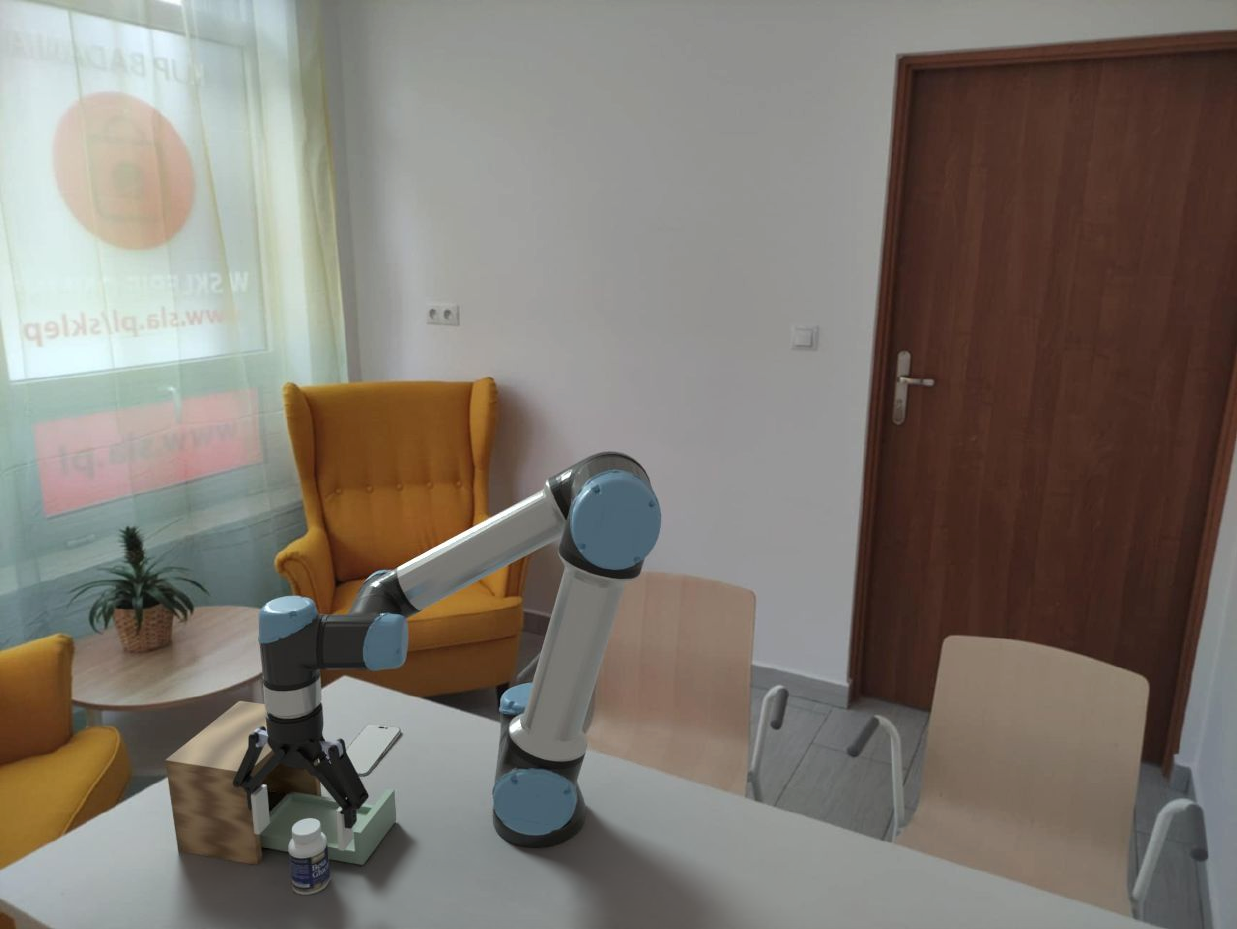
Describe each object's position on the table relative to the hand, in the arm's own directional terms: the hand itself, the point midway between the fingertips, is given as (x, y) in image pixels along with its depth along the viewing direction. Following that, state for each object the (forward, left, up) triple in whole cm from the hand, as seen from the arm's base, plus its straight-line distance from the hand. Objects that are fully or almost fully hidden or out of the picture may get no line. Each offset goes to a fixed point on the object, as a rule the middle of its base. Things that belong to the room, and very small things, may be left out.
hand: (303, 836), depth 132 cm
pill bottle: (0, 0, -8) cm, 8 cm away
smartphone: (+9, -34, -9) cm, 36 cm away
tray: (+3, -11, -8) cm, 14 cm away
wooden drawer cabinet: (+17, -11, -8) cm, 21 cm away
